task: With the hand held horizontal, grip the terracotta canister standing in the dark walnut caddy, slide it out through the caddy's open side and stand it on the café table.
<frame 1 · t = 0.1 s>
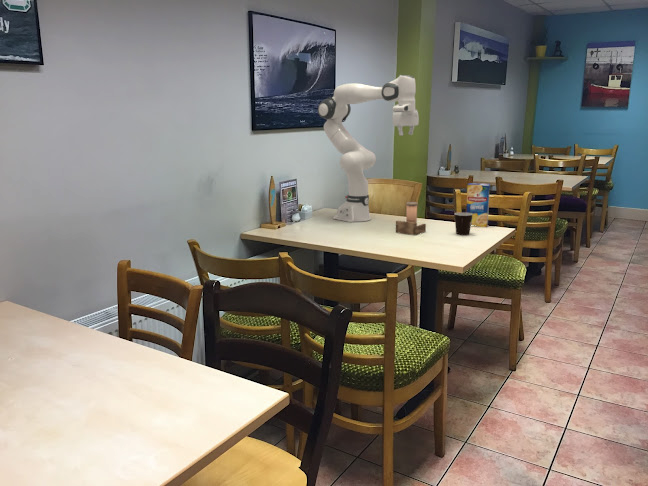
hand: (406, 135, 280), 48 cm above the table, tool pointing down, fingers open, 8 cm apart
canister: (411, 231, 275), resting in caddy
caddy: (411, 231, 275), on the table
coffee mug: (461, 234, 268), on the table
blue yellow food box: (476, 225, 288), on the table
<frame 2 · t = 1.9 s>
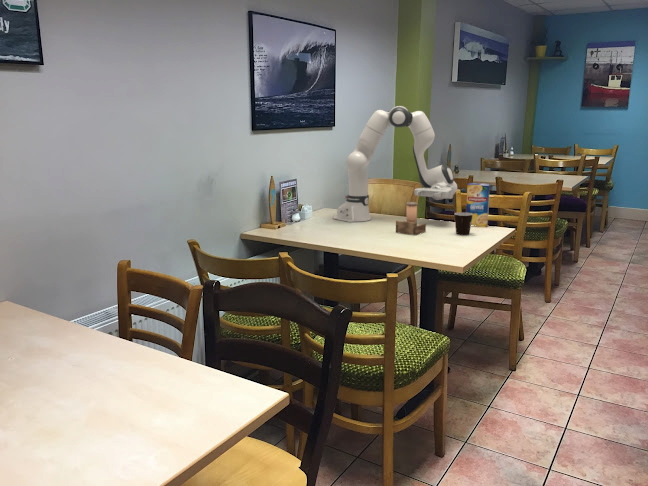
hand: (425, 194, 282), 17 cm above the table, tool horizontal, fingers open, 8 cm apart
nothing on the table moved.
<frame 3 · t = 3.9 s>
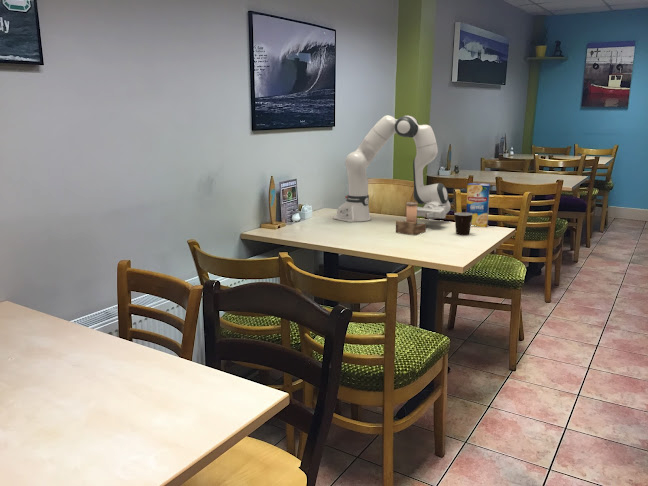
hand: (418, 214, 279), 8 cm above the table, tool horizontal, fingers open, 8 cm apart
nothing on the table moved.
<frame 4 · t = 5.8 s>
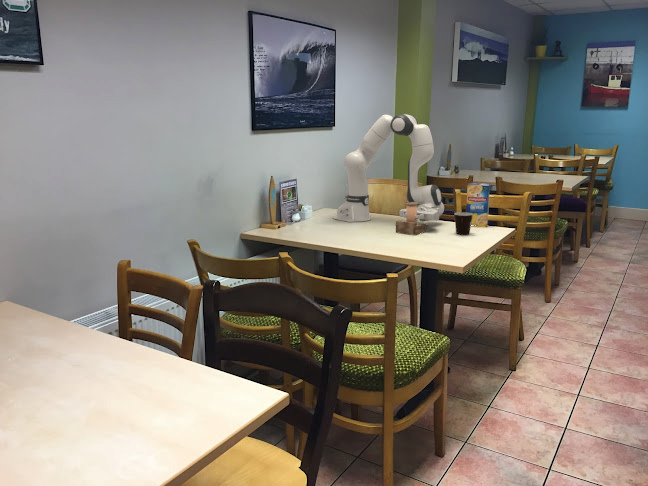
hand: (410, 216, 273), 8 cm above the table, tool horizontal, fingers closed on canister, 5 cm apart
canister: (411, 231, 275), resting in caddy, touching gripper
everything else where it was.
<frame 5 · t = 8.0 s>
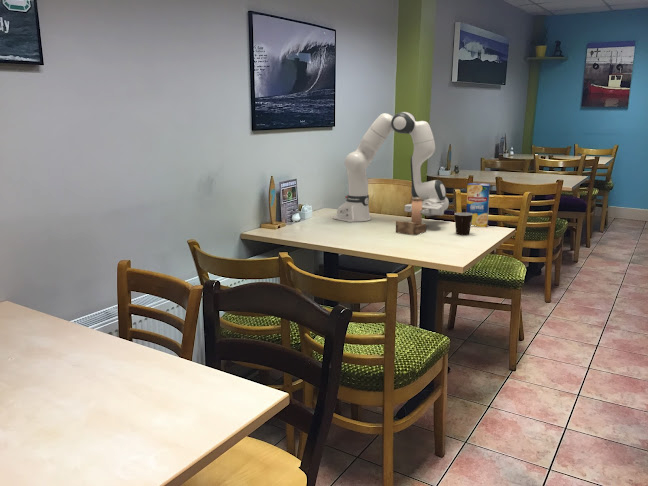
hand: (415, 211, 276), 10 cm above the table, tool horizontal, fingers closed on canister, 5 cm apart
canister: (416, 226, 279), point 2 cm above the table, touching gripper
everything else where it was.
when the fingers open (9 cm above the table, at t = 10.4 s): canister stays where it is, on the table.
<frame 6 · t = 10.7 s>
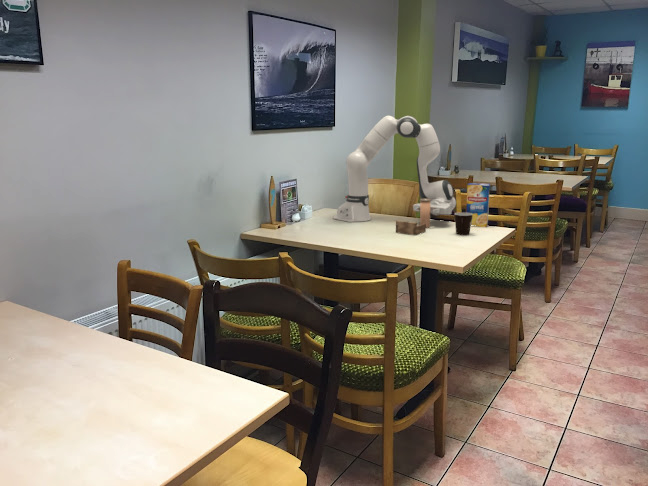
hand: (424, 210, 283), 9 cm above the table, tool horizontal, fingers open, 8 cm apart
canister: (424, 227, 286), on the table
everything else where it was.
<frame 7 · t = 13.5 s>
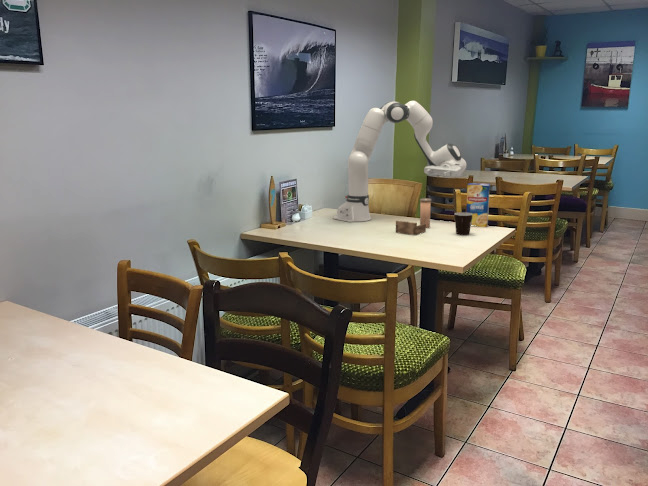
hand: (435, 173, 289), 27 cm above the table, tool horizontal, fingers open, 8 cm apart
nothing on the table moved.
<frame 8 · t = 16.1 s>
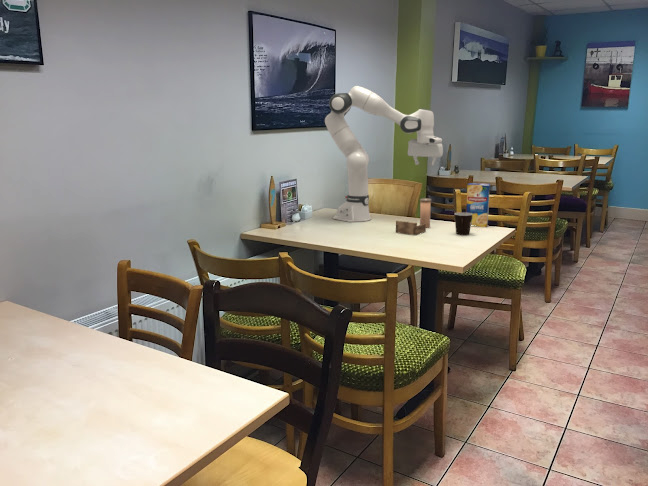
hand: (424, 164, 297), 31 cm above the table, tool pointing down, fingers open, 8 cm apart
nothing on the table moved.
at the end: canister inside the target area (0.0 cm from its centre), on the table; canister tilted 0°; the gripper is holding nothing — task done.
